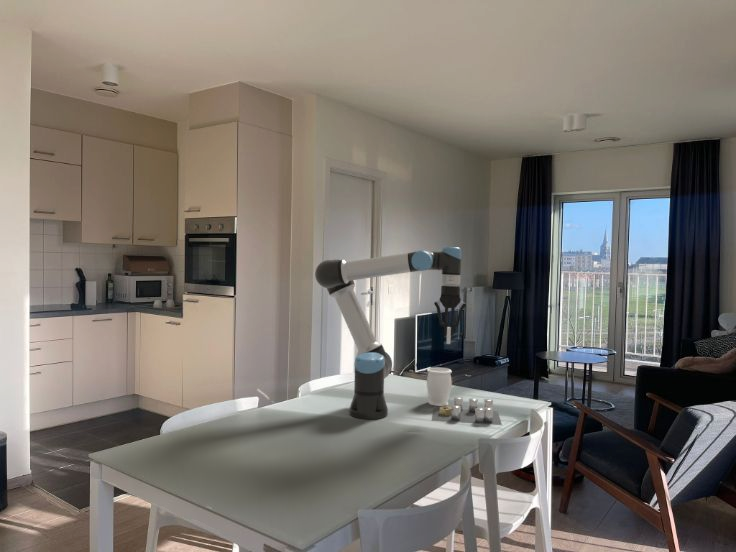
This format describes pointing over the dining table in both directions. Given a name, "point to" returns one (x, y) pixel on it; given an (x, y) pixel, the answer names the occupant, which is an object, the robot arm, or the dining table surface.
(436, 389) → the jar
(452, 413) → the spacers
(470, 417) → the mat
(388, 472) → the dining table surface
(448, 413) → the nut
